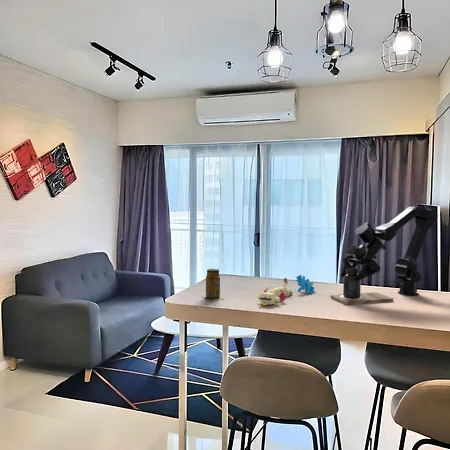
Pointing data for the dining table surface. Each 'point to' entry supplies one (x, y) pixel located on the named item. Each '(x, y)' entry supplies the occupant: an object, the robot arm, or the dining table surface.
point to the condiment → (213, 285)
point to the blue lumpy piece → (305, 284)
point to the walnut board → (363, 298)
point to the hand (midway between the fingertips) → (348, 278)
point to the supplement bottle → (351, 284)
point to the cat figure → (274, 294)
